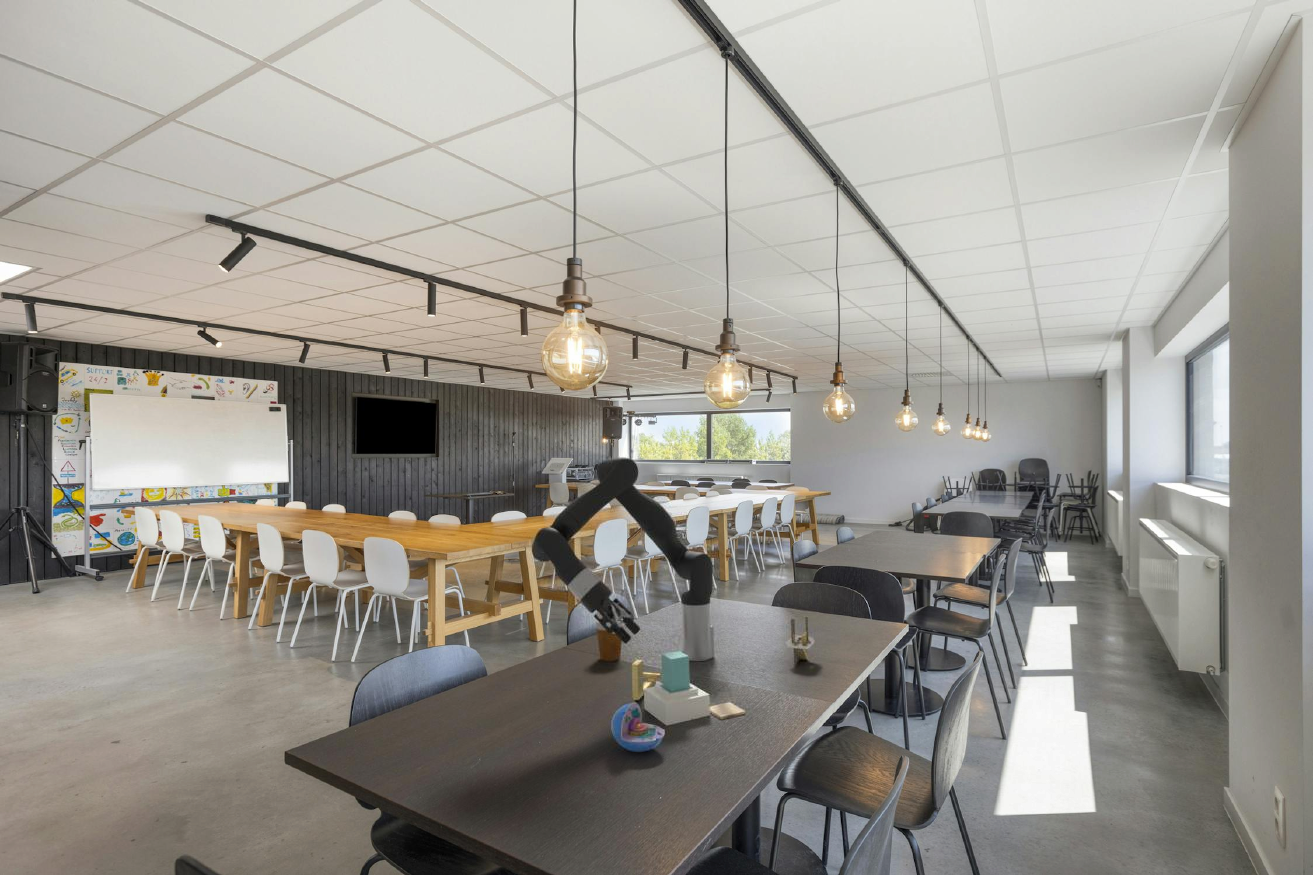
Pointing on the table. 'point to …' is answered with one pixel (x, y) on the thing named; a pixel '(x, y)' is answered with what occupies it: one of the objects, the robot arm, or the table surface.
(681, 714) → the housing
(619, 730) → the cell model
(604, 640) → the disposable coffee cup
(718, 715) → the pad
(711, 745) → the table surface
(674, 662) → the teal upright prism
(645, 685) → the key lever
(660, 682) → the key socket
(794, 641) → the two-pronged ringed stand
